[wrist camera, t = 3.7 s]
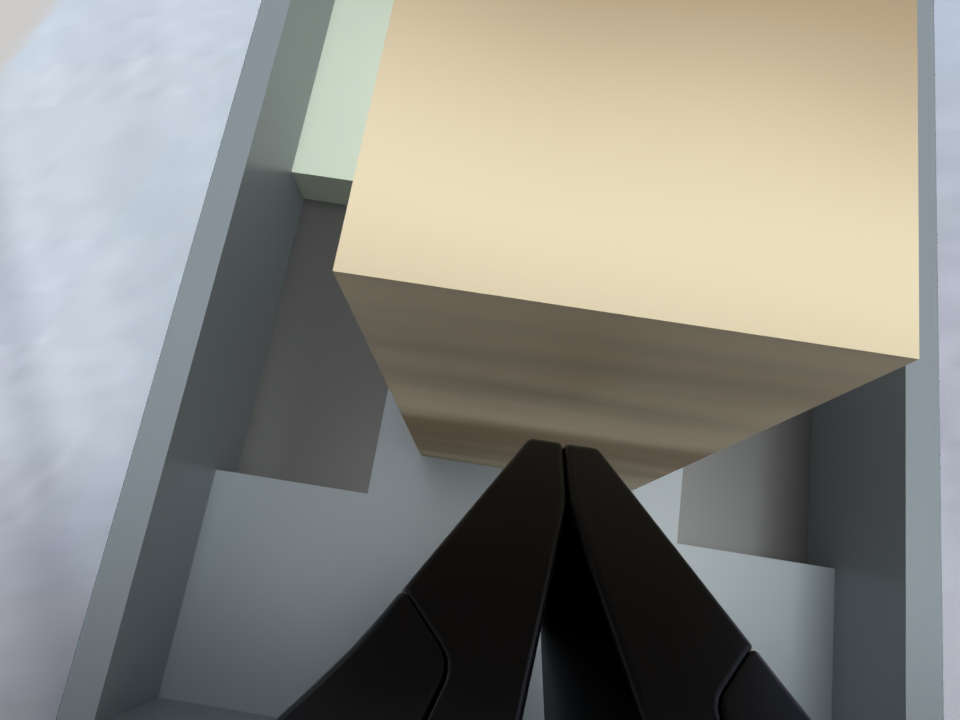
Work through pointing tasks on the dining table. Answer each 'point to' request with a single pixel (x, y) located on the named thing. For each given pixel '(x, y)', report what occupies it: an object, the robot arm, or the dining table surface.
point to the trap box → (446, 483)
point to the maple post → (634, 220)
